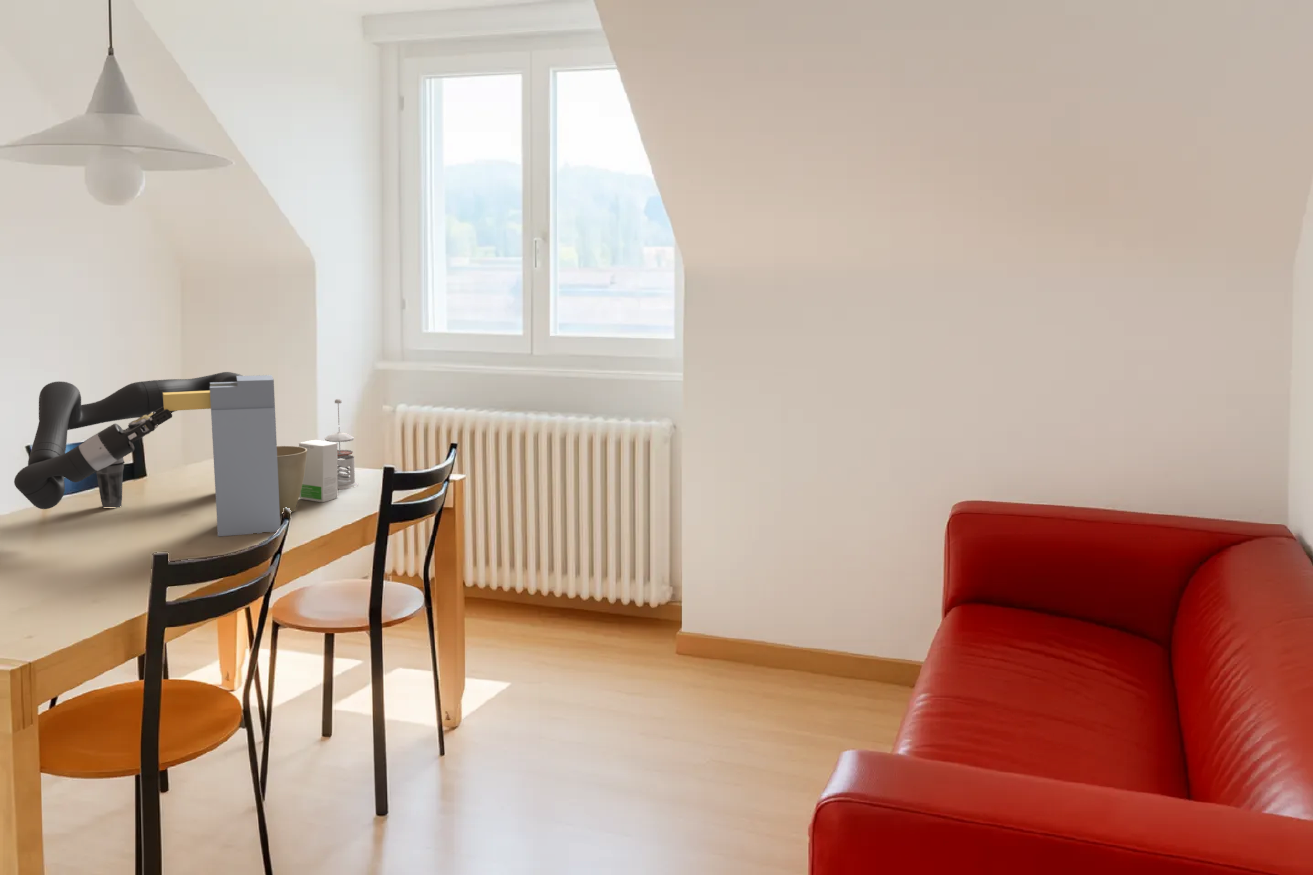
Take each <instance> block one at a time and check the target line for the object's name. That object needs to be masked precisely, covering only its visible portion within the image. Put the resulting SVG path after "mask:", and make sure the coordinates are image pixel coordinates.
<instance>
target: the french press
mask: <svg viewBox="0 0 1313 875" xmlns="http://www.w3.org/2000/svg"><path fill="white" fill-rule="evenodd" d="M334 404H337V416H338V424H340V407H339V406H340V404H342V400H341V399H339V398H336V399H334ZM340 430H341V429H340V428H338V431H337V432H333V433H331V434H329V435H327V436H326V437H324V441H328V442H334V443H338V445H339V449H337V490H345V489H344V488H347V489H352V488H351V487H353V488H355V487H354V486H356V487H358V486H359V483H358V482H357V481H356V478H355V475H356V474H355V456H354V455H352V454H353V453H354V452H353V450H350V449H341V443H342V442H343V443H346V442H352V441H354V439H355V437H354V436H352V435H350V434H348V433H346V432H341V431H340Z"/></svg>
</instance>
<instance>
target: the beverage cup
mask: <svg viewBox="0 0 1313 875" xmlns="http://www.w3.org/2000/svg"><path fill="white" fill-rule="evenodd" d="M124 469H125V459H124V457H123V458H121V459H119V460H118V461H116V462H114V463H112V464H111V465H109V466H107V467H105V468H103V469H100V470H98V471H97V472H95V473H96V478H97V484H98V491H99V497H100V502H101V506H102V508H103V507H119V508H121V507H122V506H123V505H122V504H123V503H122V502H123V483H124V482H123V481H124V480H123V477H124V476H123V474H124ZM120 506H121V507H120Z"/></svg>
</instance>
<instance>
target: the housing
mask: <svg viewBox="0 0 1313 875" xmlns="http://www.w3.org/2000/svg"><path fill="white" fill-rule="evenodd" d="M275 398H276V397H275V380H274V378H273V375H272V374H268V375H267V374H265V375H264V374H263V375H260V374H259V375H243V376H237V382H213V383H210V401H211V409H210V413H211V414H210V417H211V432H212V434H211V435H212V436H211V437H212V452H213V453H212V454H213V468H214V470H213V473H214V474H213V476H214V491H215V509H216V510H215V511H216V524H217V526H216V528H217V529H216V530H217V537H227V536H228V537H229V536H240V535H241V536H242V535H254V534H253V533H257V534H263V533H262V532H270V533H277V532H276V531H277V530H278V529H279V528H280V529H281V514H280V509H279V486H278V463H277V446H278V445H277V425H276V424H277V423H276V422H277V421H276V420H277V418H276V403H275V402H276V400H275Z"/></svg>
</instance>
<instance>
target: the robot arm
mask: <svg viewBox="0 0 1313 875" xmlns="http://www.w3.org/2000/svg"><path fill="white" fill-rule="evenodd" d="M237 376H244V375H243V374H240V373H236V372H233V371H222V372H219V373H213V374H209V375H204V376H199V377H193V378H183V379H182V378H177V379H175V378H174V379H173V378H171V379H170V378H169V379H152V380H145V381H135V382H131V383H130V384H127V385H124V386H123V387H121V388H119V389H118V390H116V391H115V392H113V393H111V394H110V395H108V396H106V397H105V398H103V399H101V400H98V401H94V402H91V403H84V404H82V396H81V392H80V390H79V388H78V387H77V386H76V385H74V384H73V383H71V382H67V381H52V382H50V383H48V384H46V385H44V386H43V387H42V389H41V390H40V392H39V395H38V396H39V397H38V425H37V428H36V433H35V436H34V439H33V443H32V445H31V446H32V447H31V450H30V453H29V457H28V461H27V465H26V466H25V467H22V468H21V469H20V470H19V471H18V472H17V474H16V475H15V477H14V481H13V483H14V487H16V488H15V489H17V490H18V491H19V492H20V493H21V494H22V496H24V497H25V498H26V500H28V501H29V502H30V503H31V504H32V505H33V506H34V507H36V508H38V509H41V510H48V509H52V508H53V507H56V506H57V505H58V504H59V503H60V502H61V501H62V499H63V498H64V495H65V490H66V486H65V483H66V482H65V479H67V480H68V481H70V482H73V483H79V482H82V481H83V480H85V479H87V478H88V477H90V476H92V475H94V474H95V473H96V472H97V471H98V470H100V469H103V468H105V467H107V466H109V465H111V464H112V463H114V462H116V461H118V460H119V459H121V458H123V459H124V457H126V456H127V455H129V454H131V453H132V452H134V451H135V446H134V443H135V442H136V441H137V440H138V441H139V440H141V439H142V438H144V437H145V436H147V435H149V434H150V433H152V432H154V431H155V430H156V429H157V428H158V427H159V425H162V424H163V423H165V422H166V421H168V420H170V419H172V418H173V413H175V412H176V411H169V410H168V409H165V410H164V404H163V393H167V392H188V391H208V390H210V383H213V382H237ZM128 419H129V420H131V419H135V420H133V421H130V422H129V423H128V425H127V428H125V429H123V428H122V427H121V425H119V424H117V423H113V424H111V425H109V426H107V427H106V428H104V429H102V430H100V431H99V432H97V433H95V434H93V435H92V436H90V437H89V438H87V439H86V440H84V441H83V442H82V443H81V444H78V446H75V447H73V448H72V449H70V450H68V451H67V452H66V449H67V443H68V442H67V441H68V439H67V438H68V431H70V430H75V429H81V428H85V427H89V426H90V427H91V426H94V425H98V424H104V423H109V422H115V421H122V420H128Z"/></svg>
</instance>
